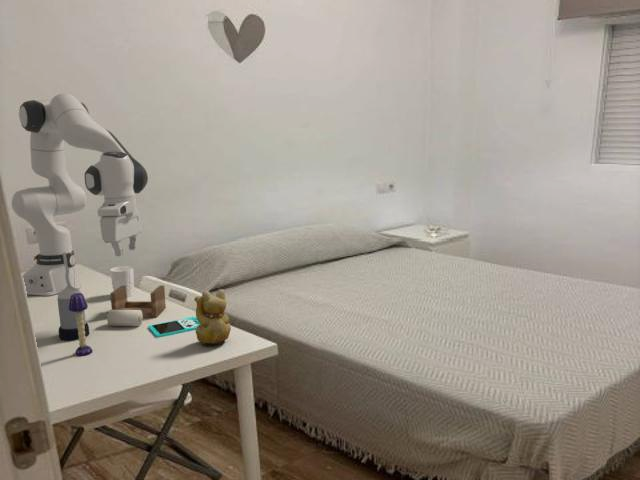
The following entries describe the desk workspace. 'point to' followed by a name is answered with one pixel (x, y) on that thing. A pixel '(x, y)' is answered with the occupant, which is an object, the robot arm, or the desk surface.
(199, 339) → the decorative figurine
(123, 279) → the white cup
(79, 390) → the desk surface
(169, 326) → the handheld game console
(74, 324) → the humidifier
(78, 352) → the toy lamp
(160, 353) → the desk surface
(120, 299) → the holder
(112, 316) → the roll
